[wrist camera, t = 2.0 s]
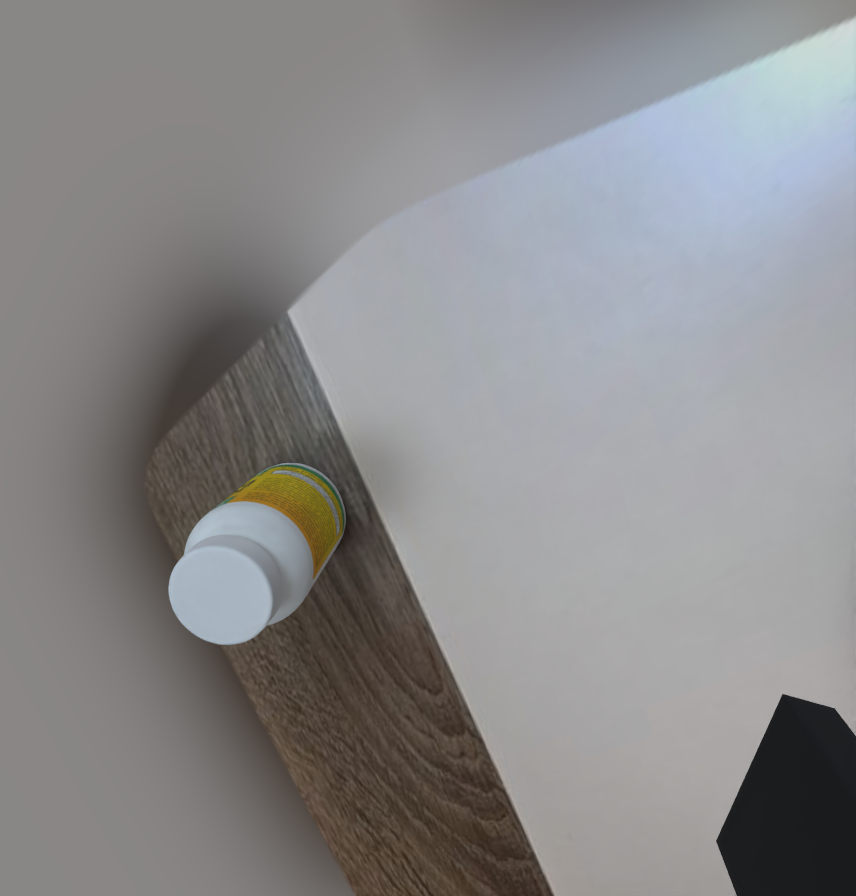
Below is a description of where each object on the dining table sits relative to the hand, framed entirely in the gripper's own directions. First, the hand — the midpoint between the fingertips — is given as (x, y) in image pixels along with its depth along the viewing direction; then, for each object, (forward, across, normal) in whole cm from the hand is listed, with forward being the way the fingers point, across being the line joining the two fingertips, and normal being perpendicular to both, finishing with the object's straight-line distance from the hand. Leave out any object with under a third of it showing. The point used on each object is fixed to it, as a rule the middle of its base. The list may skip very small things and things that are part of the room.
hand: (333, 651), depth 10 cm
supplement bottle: (+22, -6, -8) cm, 24 cm away
